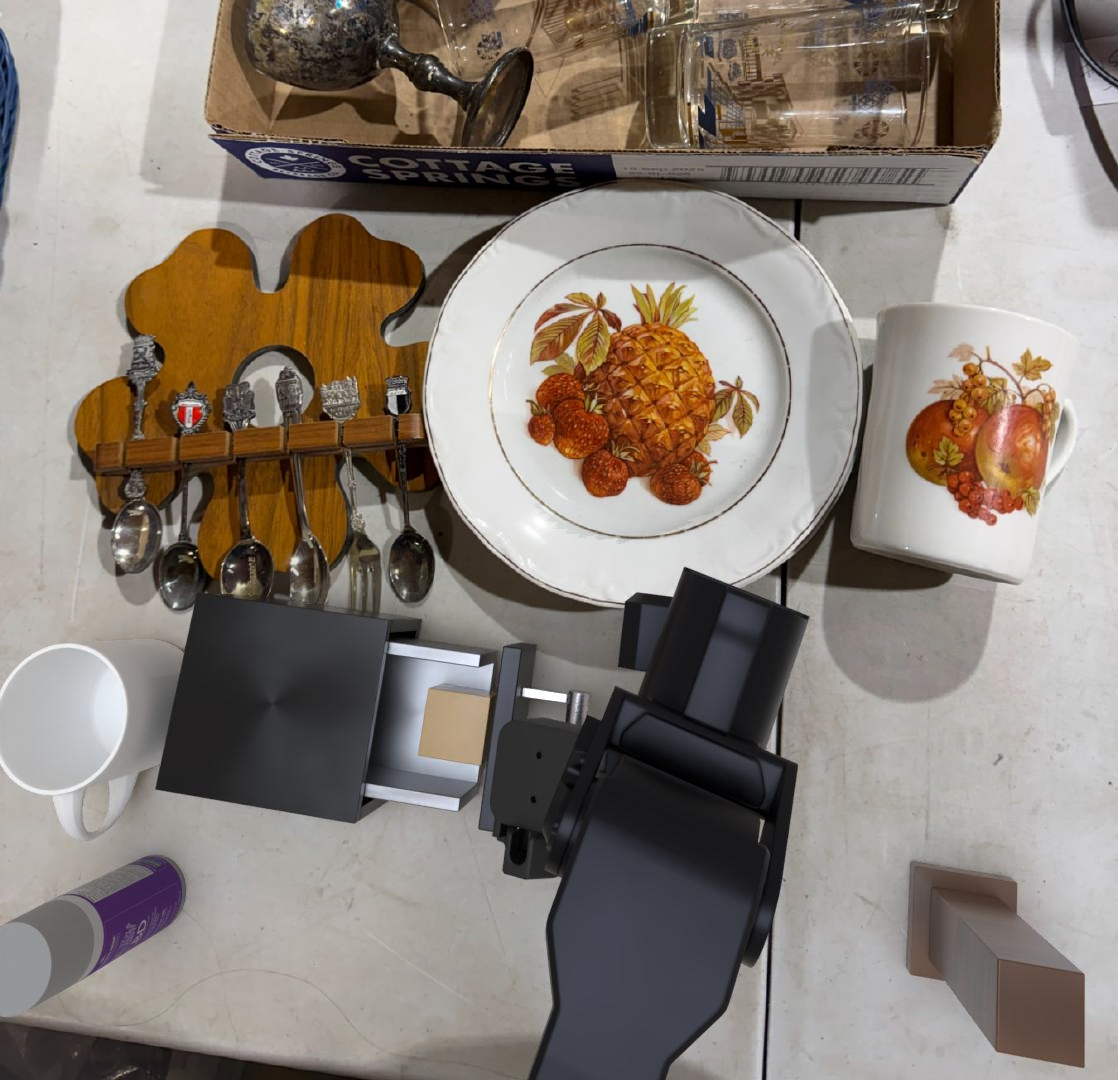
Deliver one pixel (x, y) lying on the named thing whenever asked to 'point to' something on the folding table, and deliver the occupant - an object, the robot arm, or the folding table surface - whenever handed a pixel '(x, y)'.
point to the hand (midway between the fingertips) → (667, 762)
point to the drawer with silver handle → (402, 717)
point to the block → (457, 724)
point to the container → (85, 930)
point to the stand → (995, 963)
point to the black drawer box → (279, 704)
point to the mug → (87, 721)
